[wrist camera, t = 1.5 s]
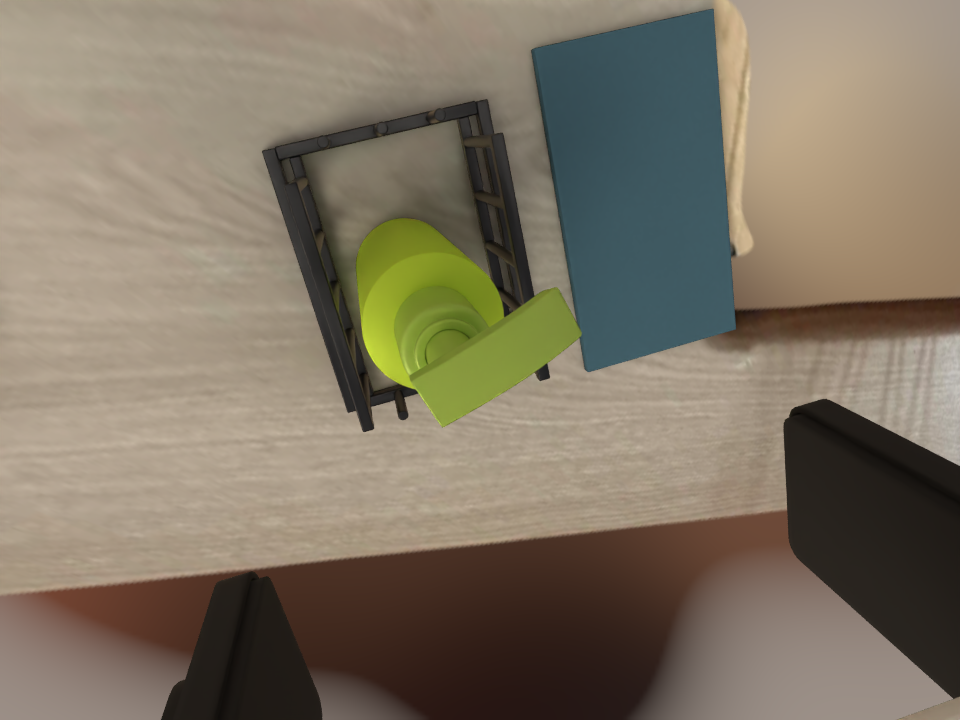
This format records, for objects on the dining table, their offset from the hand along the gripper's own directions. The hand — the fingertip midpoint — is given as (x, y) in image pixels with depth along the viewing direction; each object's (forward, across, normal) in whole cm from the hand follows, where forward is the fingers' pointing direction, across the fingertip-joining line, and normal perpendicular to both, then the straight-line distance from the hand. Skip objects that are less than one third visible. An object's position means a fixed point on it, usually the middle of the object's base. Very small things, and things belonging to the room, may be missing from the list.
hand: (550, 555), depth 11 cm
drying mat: (+29, -15, 0) cm, 33 cm away
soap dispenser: (+29, 0, 0) cm, 29 cm away
